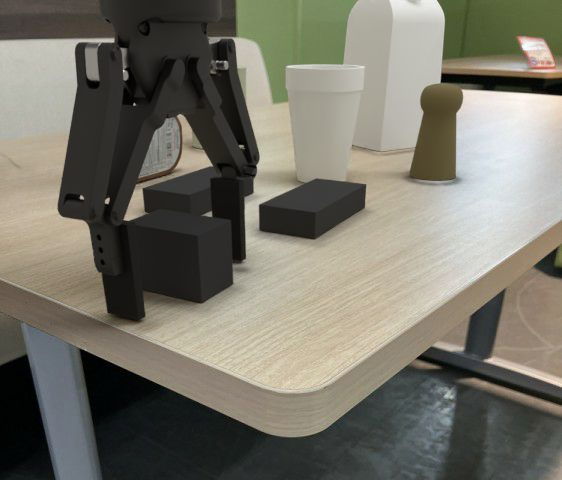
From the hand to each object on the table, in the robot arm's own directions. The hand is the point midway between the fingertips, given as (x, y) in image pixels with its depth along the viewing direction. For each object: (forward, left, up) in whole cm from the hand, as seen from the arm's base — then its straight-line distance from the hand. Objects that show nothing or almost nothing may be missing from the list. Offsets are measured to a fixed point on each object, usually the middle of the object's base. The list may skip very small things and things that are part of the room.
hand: (183, 283), depth 48 cm
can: (-31, +54, 0) cm, 62 cm away
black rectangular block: (0, 0, 0) cm, 0 cm away
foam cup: (-6, +39, 0) cm, 39 cm away
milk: (-8, +69, 0) cm, 69 cm away
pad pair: (-6, +22, 0) cm, 23 cm away
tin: (-26, +28, 0) cm, 38 cm away
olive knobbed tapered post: (+6, +48, 0) cm, 48 cm away
